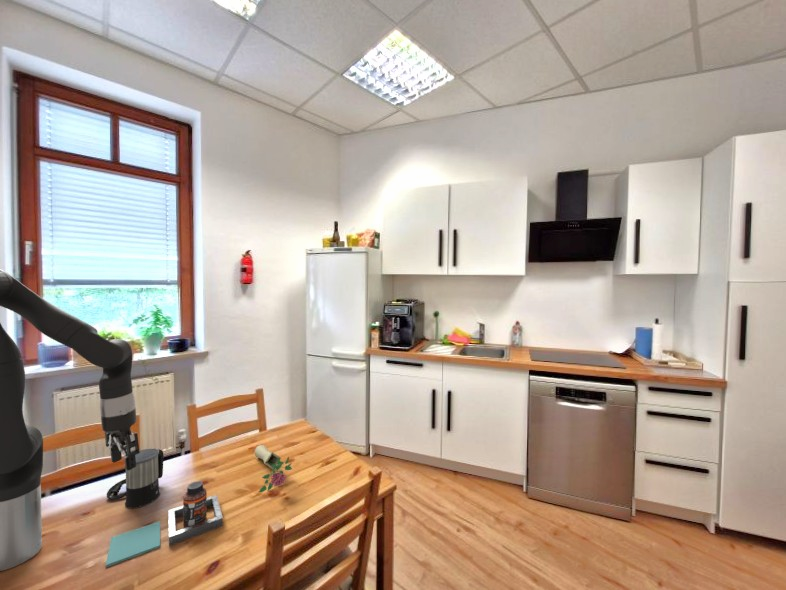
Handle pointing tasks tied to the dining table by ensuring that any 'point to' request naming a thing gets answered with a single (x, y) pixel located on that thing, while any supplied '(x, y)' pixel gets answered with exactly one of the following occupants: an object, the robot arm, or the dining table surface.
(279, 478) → the flower vase
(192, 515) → the supplement bottle
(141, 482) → the milk frother
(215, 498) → the grey square frame
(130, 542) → the teal mat
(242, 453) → the dining table surface
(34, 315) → the robot arm
